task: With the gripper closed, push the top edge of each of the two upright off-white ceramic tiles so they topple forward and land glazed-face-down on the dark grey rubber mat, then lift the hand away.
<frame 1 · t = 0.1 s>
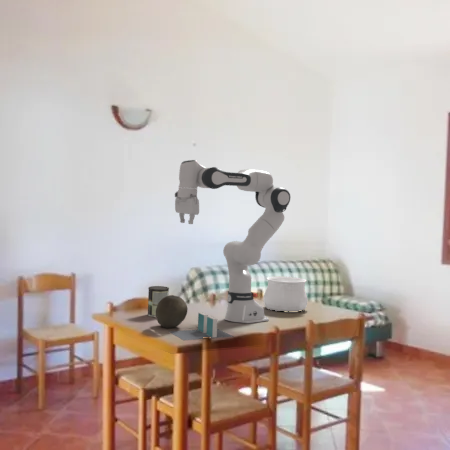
hand: (186, 223, 301), 48 cm above the table, tool pointing down, fingers open, 8 cm apart
coffee can: (157, 315, 320), on the table
tile a: (202, 331, 285), point 1 cm above the table, touching mat
mat: (200, 335, 280), on the table
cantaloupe: (170, 328, 292), on the table
pot: (284, 309, 353), on the table
tile b: (211, 335, 277), point 1 cm above the table, touching mat
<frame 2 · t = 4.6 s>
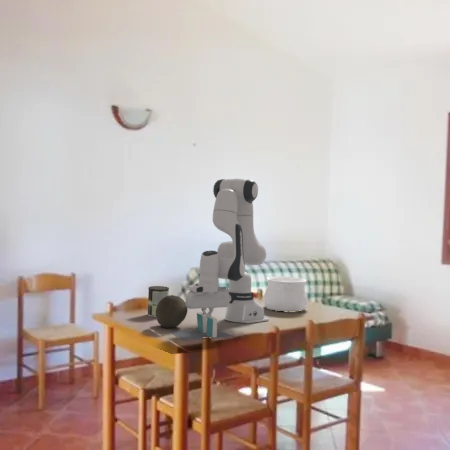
hand: (207, 317, 285), 7 cm above the table, tool pointing down, fingers closed
tile a: (202, 331, 285), point 1 cm above the table, tilted 6°, touching gripper, mat
everything else where it was.
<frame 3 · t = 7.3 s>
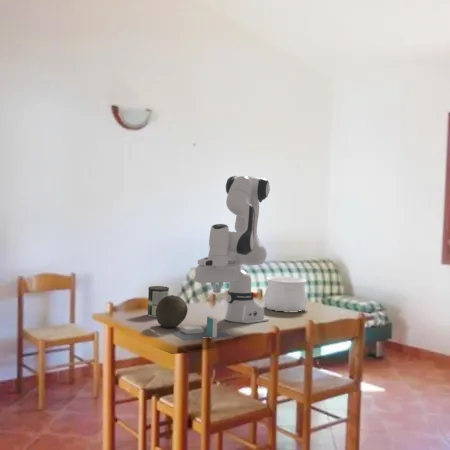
hand: (216, 292, 280), 19 cm above the table, tool pointing down, fingers closed
tile a: (200, 329, 285), point 2 cm above the table, tilted 90°, touching mat
everything else where it was.
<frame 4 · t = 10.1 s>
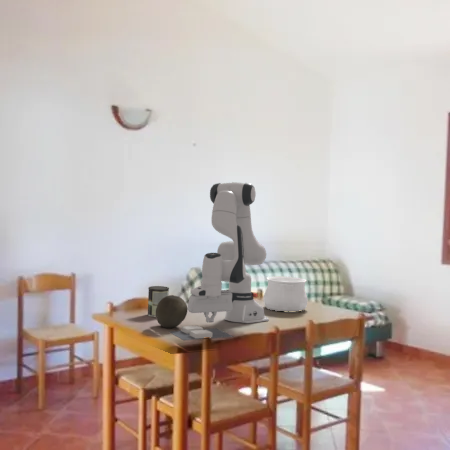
hand: (209, 322, 276), 7 cm above the table, tool pointing down, fingers closed
tile b: (209, 333, 277), point 2 cm above the table, tilted 90°, touching mat
everything else where it was.
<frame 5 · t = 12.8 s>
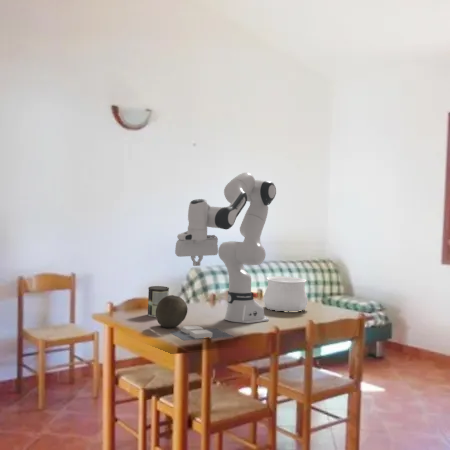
hand: (196, 265, 288), 30 cm above the table, tool pointing down, fingers closed
nothing on the table moved.
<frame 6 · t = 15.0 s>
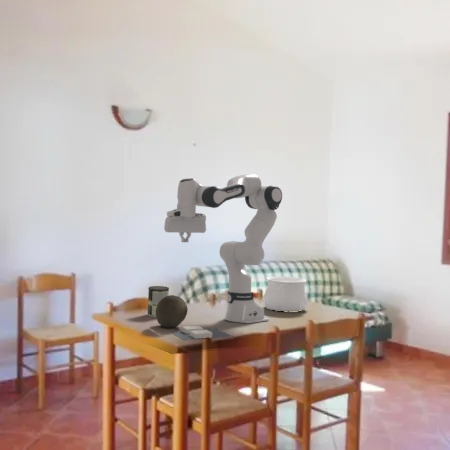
hand: (184, 242, 299), 39 cm above the table, tool pointing down, fingers closed
nothing on the table moved.
at the end: tile a tilted 90°; tile b tilted 90°; tile a inside the target area (4.9 cm from its centre), point 1.7 cm above the table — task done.
